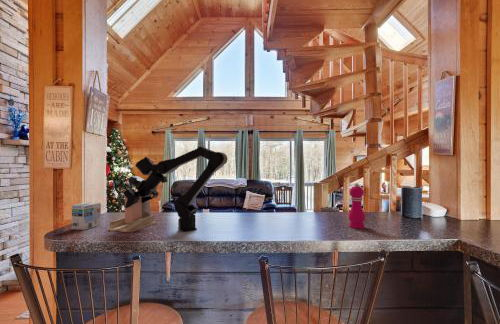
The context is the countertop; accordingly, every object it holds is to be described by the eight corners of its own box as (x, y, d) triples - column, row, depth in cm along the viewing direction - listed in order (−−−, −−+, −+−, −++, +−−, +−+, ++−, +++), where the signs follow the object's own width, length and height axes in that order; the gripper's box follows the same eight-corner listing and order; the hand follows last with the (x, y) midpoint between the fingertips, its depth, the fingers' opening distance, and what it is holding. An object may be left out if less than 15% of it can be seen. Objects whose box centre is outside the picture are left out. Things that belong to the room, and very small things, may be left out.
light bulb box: (84, 230, 123) (84, 205, 123) (70, 229, 125) (70, 205, 125) (101, 224, 134) (101, 202, 134) (89, 224, 135) (89, 201, 135)
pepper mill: (347, 228, 126) (347, 183, 126) (348, 224, 133) (348, 182, 133) (365, 229, 123) (365, 183, 123) (365, 226, 130) (365, 182, 130)
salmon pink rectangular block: (141, 220, 132) (141, 190, 133) (132, 223, 126) (132, 192, 126) (134, 220, 134) (134, 190, 134) (124, 222, 127) (124, 191, 127)
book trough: (156, 223, 137) (156, 201, 137) (131, 232, 120) (131, 206, 120) (134, 221, 140) (134, 200, 140) (107, 230, 123) (107, 205, 123)
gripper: (152, 169, 138) (133, 191, 141) (126, 170, 120) (105, 196, 123) (167, 185, 136) (147, 208, 139) (142, 189, 118) (120, 214, 121)
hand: (130, 206), depth 130 cm, fingers closed on salmon pink rectangular block, 6 cm apart
